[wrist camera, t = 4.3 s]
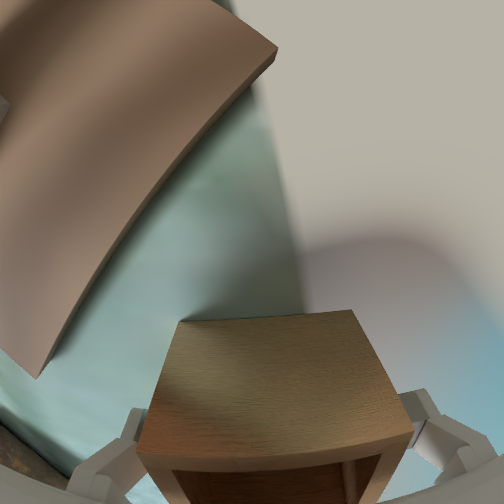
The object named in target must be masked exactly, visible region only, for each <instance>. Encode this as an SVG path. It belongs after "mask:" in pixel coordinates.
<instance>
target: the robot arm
mask: <svg viewBox="0 0 504 504" xmlns="http://www.w3.org/2000/svg"><path fill="white" fill-rule="evenodd" d="M398 396H399V398H400V400H401V402H402V404H403V406H404V408H405V410H406V412H407V414H408V416H409V418H410V420H411V422H412V424H413V426H414V428H415V432H414V434H413V436H412V439H411V441H410V443H409V445H408V447H407V449H410V448H412V449H413V450H414V451H416V452H417V453H418V454H419V455H421V456H422V457H423V458H425V459H426V460H427V461H429V462H430V463H431V464H432V465H434V466H435V467H436V468H438V469H439V470H440V471H442V472H441V474H440V475H439V476H438V478H437V479H436V480H435V482H434V484H435V486H432V487H429V488H427V489H424V490H421V491H418V492H415V493H412V494H409V495H405V496H402V497H399V498H395V499H392V500H388V501H384V502H381V503H376V504H504V454H502V455H501V456H499V457H498V455H497V453H496V452H495V450H494V448H493V447H492V445H491V443H490V442H489V440H488V438H487V437H486V436H485V435H483V434H481V433H479V432H477V431H475V430H473V429H471V428H469V427H467V426H465V425H463V424H461V423H459V422H457V421H456V420H454V419H452V418H450V417H448V416H446V415H441V414H440V412H439V411H438V409H437V407H436V405H435V404H434V402H433V401H432V399H431V397H430V396H429V394H428V392H427V391H426V390H425V389H419V390H415V391H410V392H406V393H402V394H398ZM148 410H149V409H140V408H133V409H132V410H131V411H130V413H129V416H128V418H127V421H126V424H125V426H124V429H123V432H122V434H121V437H120V438H116V439H115V440H113V441H112V442H110V443H109V444H108V445H106V446H105V447H103V448H102V449H101V450H99V451H98V452H96V453H95V454H94V455H92V456H91V457H89V458H88V459H86V460H85V461H83V462H82V463H80V464H79V465H78V466H76V467H75V469H74V471H73V474H72V476H71V478H70V481H69V483H68V486H67V488H66V491H63V490H60V489H57V488H55V487H52V486H49V485H47V484H44V483H41V482H39V481H37V480H34V479H32V478H29V477H27V476H25V475H22V474H20V473H18V472H16V471H14V470H12V469H10V468H8V467H6V466H3V465H1V464H0V504H131V502H130V501H129V500H128V499H127V498H126V497H125V496H124V495H125V494H126V493H127V492H128V491H129V490H130V489H131V488H132V487H133V486H134V485H135V484H136V483H137V482H138V481H139V480H140V479H141V478H142V477H143V476H144V475H145V474H146V473H147V470H146V469H145V467H144V465H143V464H142V462H141V460H140V459H139V457H138V456H137V454H136V452H135V451H136V448H137V445H138V441H139V438H140V435H141V432H142V429H143V425H144V422H145V419H146V416H147V413H148Z"/></svg>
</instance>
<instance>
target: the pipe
mask: <svg viewBox="0 0 504 504" xmlns="http://www.w3.org/2000/svg"><path fill="white" fill-rule="evenodd" d="M0 464H1V465H3V466H6V467H8V468H10V469H12V470H14V471H16V472H18V473H20V474H22V475H25V476H27V477H29V478H32V479H34V480H37V481H39V482H41V483H44V484H47V485H49V486H52V487H55V488H57V489H60V490H63V491H66V488H67V486H68V483H69V481H70V479H69V478H65V477H64V476H63V475H61V474H60V473H59V472H58V471H57V470H55V469H54V468H53V467H52V466H51V465H50V464H49V463H47V462H46V461H45V460H44V459H42V458H41V457H40V456H39V455H38V454H37V453H36V452H35V451H33V450H32V449H31V448H30V447H28V446H27V445H26V444H24V443H23V442H22V441H20V440H19V439H18V438H17V437H15V436H14V435H13V434H12V433H10V432H9V431H8V430H7V429H5V428H4V427H3V426H1V425H0Z"/></svg>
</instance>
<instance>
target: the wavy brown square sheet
mask: <svg viewBox="0 0 504 504" xmlns="http://www.w3.org/2000/svg"><path fill="white" fill-rule="evenodd" d="M277 51H278V47H277V46H276V45H274V44H273V43H272V42H270V41H269V40H268V39H266V38H265V37H264V36H263V35H261V34H260V33H258V32H257V31H256V30H254V29H253V28H252V27H250V26H249V25H248V24H246V23H245V22H243V21H242V20H240V19H239V18H238V17H236V16H235V15H233V14H232V13H230V12H229V11H227V10H226V9H224V8H223V7H221V6H219V5H218V4H216V3H215V2H213V1H212V0H0V348H1V349H2V350H3V351H4V352H5V353H6V354H7V355H8V356H10V357H11V358H12V359H13V360H14V361H15V362H16V363H17V364H18V365H19V366H20V367H22V368H23V369H24V370H25V371H26V372H27V373H28V374H30V375H31V376H32V377H33V378H34V379H37V378H38V376H39V375H40V374H41V372H42V371H43V370H44V368H45V367H46V366H47V364H48V363H49V362H50V360H51V358H52V356H53V354H54V352H55V350H56V348H57V347H58V345H59V343H60V341H61V339H62V337H63V335H64V334H65V332H66V330H67V328H68V327H69V325H70V323H71V321H72V320H73V318H74V316H75V314H76V313H77V311H78V309H79V308H80V306H81V304H82V302H83V301H84V299H85V298H86V296H87V294H88V293H89V291H90V289H91V288H92V286H93V285H94V283H95V281H96V280H97V278H98V277H99V275H100V274H101V272H102V270H103V269H104V267H105V266H106V264H107V263H108V261H109V260H110V258H111V257H112V255H113V254H114V252H115V251H116V249H117V248H118V246H119V245H120V243H121V242H122V241H123V239H124V238H125V236H126V235H127V233H128V232H129V231H130V229H131V228H132V226H133V225H134V223H135V222H136V221H137V219H138V218H139V217H140V215H141V214H142V212H143V211H144V210H145V208H146V207H147V206H148V204H149V203H150V202H151V200H152V199H153V198H154V196H155V195H156V194H157V192H158V191H159V190H160V189H161V187H162V186H163V185H164V183H165V182H166V181H167V180H168V178H169V177H170V176H171V175H172V173H173V172H174V171H175V170H176V168H177V167H178V166H179V165H180V163H181V162H182V161H183V160H184V159H185V157H186V156H187V155H188V154H189V152H190V151H191V150H192V149H193V148H194V147H195V145H196V144H197V143H198V142H199V141H200V140H201V138H202V137H203V136H204V135H205V134H206V133H207V131H208V130H209V129H210V128H211V127H212V126H213V125H214V124H215V122H216V121H217V120H218V119H219V118H220V117H221V116H222V115H223V114H224V112H225V111H226V110H227V109H228V108H229V107H230V106H231V105H232V104H233V103H234V102H235V101H236V100H237V98H238V97H239V96H240V95H241V94H242V93H243V92H244V91H245V90H246V89H247V88H248V87H249V86H250V85H251V84H252V83H253V82H254V81H255V80H256V79H257V78H258V77H259V76H260V75H261V74H262V73H263V72H264V71H265V70H266V69H267V68H268V67H269V66H270V65H271V64H272V63H273V62H274V60H275V57H276V54H277Z"/></svg>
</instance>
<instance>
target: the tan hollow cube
mask: <svg viewBox="0 0 504 504" xmlns="http://www.w3.org/2000/svg"><path fill="white" fill-rule="evenodd" d="M414 432H415V428H414V426H413V424H412V422H411V420H410V418H409V416H408V414H407V412H406V410H405V408H404V406H403V404H402V402H401V400H400V398H399V396H398V394H397V392H396V391H395V389H394V387H393V385H392V383H391V381H390V379H389V377H388V375H387V373H386V371H385V369H384V368H383V366H382V364H381V362H380V360H379V358H378V356H377V355H376V353H375V351H374V349H373V347H372V345H371V344H370V342H369V340H368V338H367V336H366V335H365V333H364V331H363V329H362V327H361V326H360V324H359V322H358V320H357V318H356V317H355V315H354V313H353V311H352V310H343V311H333V312H323V313H313V314H302V315H290V316H278V317H264V318H249V319H232V320H211V321H184V322H178V325H177V328H176V330H175V333H174V336H173V339H172V342H171V345H170V347H169V350H168V353H167V356H166V359H165V362H164V365H163V368H162V371H161V374H160V376H159V379H158V382H157V385H156V388H155V391H154V394H153V397H152V401H151V404H150V407H149V410H148V413H147V416H146V419H145V422H144V425H143V429H142V432H141V435H140V438H139V441H138V445H137V448H136V451H135V452H136V454H137V456H138V457H139V459H140V460H141V462H142V464H143V465H144V467H145V469H146V470H147V472H148V473H149V475H150V476H151V478H152V479H153V481H154V482H155V484H156V485H157V487H158V488H159V490H160V491H161V493H162V494H163V496H164V497H165V498H166V500H167V501H168V503H169V504H376V502H377V501H378V499H379V497H380V496H381V494H382V493H383V491H384V489H385V487H386V486H387V484H388V482H389V481H390V479H391V477H392V475H393V474H394V472H395V470H396V468H397V466H398V464H399V462H400V461H401V459H402V457H403V455H404V453H405V451H406V449H407V447H408V445H409V443H410V441H411V439H412V436H413V434H414Z"/></svg>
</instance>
